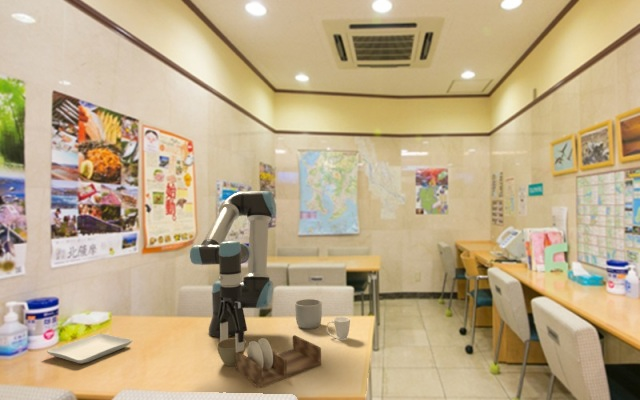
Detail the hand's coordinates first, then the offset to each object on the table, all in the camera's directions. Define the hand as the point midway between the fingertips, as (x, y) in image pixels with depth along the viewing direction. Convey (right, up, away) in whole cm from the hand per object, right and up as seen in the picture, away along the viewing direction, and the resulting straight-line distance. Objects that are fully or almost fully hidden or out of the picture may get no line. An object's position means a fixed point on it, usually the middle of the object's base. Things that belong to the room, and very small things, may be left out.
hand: (231, 345), depth 126 cm
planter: (+26, -7, +38) cm, 47 cm away
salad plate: (-58, -9, +13) cm, 60 cm away
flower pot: (0, -6, 0) cm, 6 cm away
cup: (+39, -6, +21) cm, 45 cm away
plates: (+12, -5, -9) cm, 15 cm away
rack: (+17, -6, -4) cm, 19 cm away
